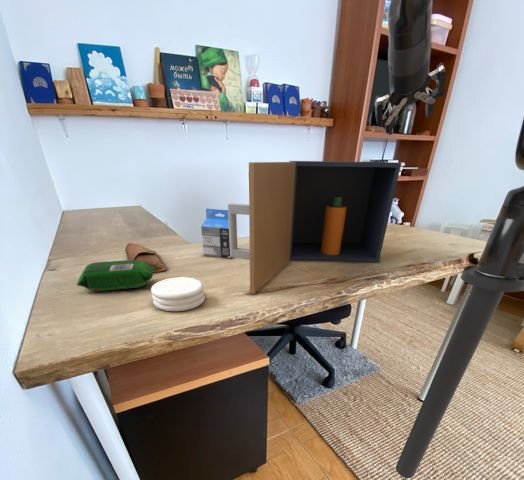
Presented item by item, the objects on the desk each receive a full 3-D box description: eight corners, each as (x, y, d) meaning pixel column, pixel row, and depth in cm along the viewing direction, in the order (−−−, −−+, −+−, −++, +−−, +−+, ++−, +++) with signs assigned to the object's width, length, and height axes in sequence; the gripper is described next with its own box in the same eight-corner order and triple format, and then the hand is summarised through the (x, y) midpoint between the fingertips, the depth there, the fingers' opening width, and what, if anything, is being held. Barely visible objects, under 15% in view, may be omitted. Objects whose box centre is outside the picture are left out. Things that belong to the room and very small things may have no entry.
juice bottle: (343, 253, 87) (352, 197, 79) (330, 256, 85) (338, 198, 77) (330, 249, 91) (337, 195, 83) (316, 251, 89) (323, 196, 80)
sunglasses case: (168, 268, 75) (150, 247, 70) (146, 285, 74) (126, 265, 70) (156, 251, 88) (139, 232, 84) (137, 266, 88) (120, 247, 83)
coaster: (176, 317, 53) (173, 299, 51) (143, 303, 58) (139, 286, 56) (215, 300, 60) (213, 283, 58) (183, 288, 65) (180, 273, 63)
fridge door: (227, 289, 64) (220, 161, 51) (268, 258, 85) (270, 161, 72) (254, 293, 63) (253, 162, 50) (289, 261, 83) (295, 161, 70)
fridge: (378, 262, 84) (401, 162, 70) (287, 260, 84) (293, 161, 71) (362, 246, 99) (378, 162, 85) (284, 245, 99) (289, 160, 86)
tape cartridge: (203, 255, 87) (198, 210, 80) (209, 252, 90) (205, 208, 83) (230, 258, 85) (228, 212, 78) (235, 255, 88) (234, 210, 81)
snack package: (157, 289, 64) (152, 266, 62) (78, 295, 61) (70, 270, 58) (158, 279, 70) (154, 257, 67) (87, 283, 67) (80, 260, 64)
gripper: (445, 19, 56) (437, 95, 70) (368, 63, 62) (375, 125, 76) (455, 49, 55) (444, 121, 69) (375, 91, 60) (380, 149, 75)
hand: (408, 123), depth 73 cm, fingers open, 8 cm apart
